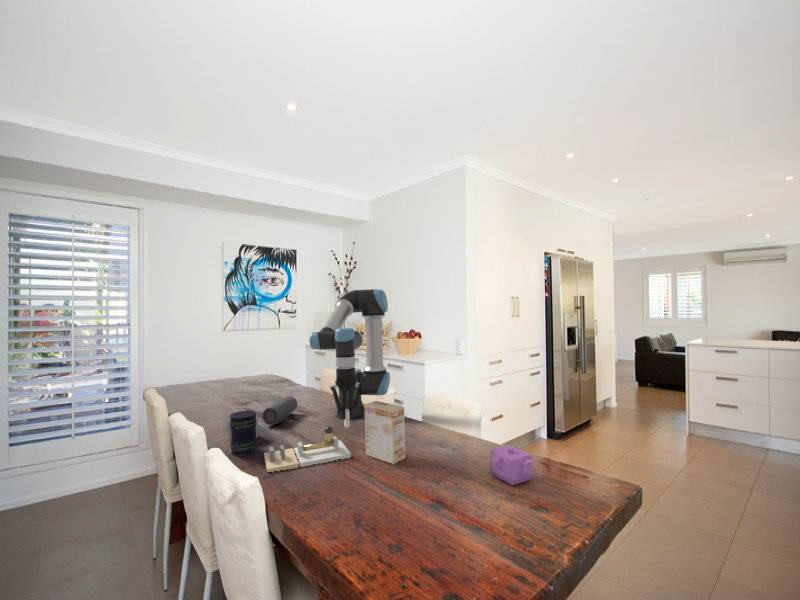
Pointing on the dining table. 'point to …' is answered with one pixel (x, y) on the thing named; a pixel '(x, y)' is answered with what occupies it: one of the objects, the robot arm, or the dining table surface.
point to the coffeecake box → (385, 431)
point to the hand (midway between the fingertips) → (347, 426)
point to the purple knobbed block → (511, 464)
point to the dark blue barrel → (243, 433)
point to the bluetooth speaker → (279, 410)
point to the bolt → (327, 443)
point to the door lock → (303, 456)
